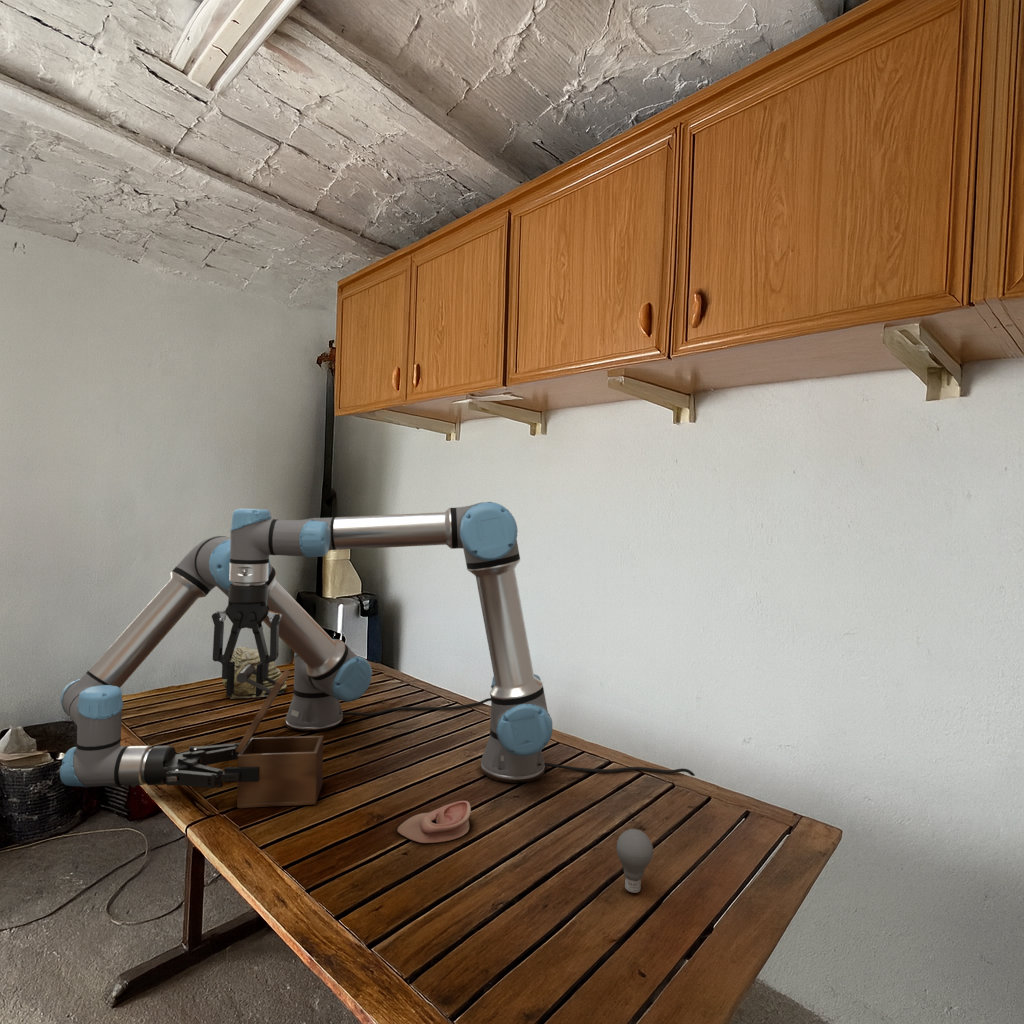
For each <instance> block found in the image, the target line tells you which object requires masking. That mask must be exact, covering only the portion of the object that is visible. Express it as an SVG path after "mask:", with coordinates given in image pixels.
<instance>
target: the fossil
mask: <svg viewBox="0 0 1024 1024" xmlns="http://www.w3.org/2000/svg"><path fill="white" fill-rule="evenodd" d="M231 659H232V660H231V661H230V662H235V674H234V693H233V694H232V695H231V696H230V697H229V698H230V699H250V698H257V697H256V687H255V686H253V685H251V684H249V683H248V682H244V683H239V682H238V681H237V679H236V677H237V675H238V674H239V673H240V672H241V671H242V670H243V669H244V668H245V667H246V666H247V665H249V664H251V665H253V666H254V667H255V670H256V671H257V665H258V663H259V662H261V661H260V657H259V653H258V649H257V648H251V647H247V646H246V647H245V646H238V647H237V648H235V649H234V652H233V655H232V658H231ZM282 674H283V672H281V669H279V668H278V667H277V665H276V663H275V661H273V662H270V663H269V670H268V677H269V678H271V679H273V680H275V681H277V680H278V679H279V678H280V676H281V675H282ZM249 678H250V679H251V680H253V681H255V682H256V675H254V674H252V675H251V676H250V677H249ZM222 685H223V687H224V688H225V690H226V689H227V679H222ZM263 686H265V687H267V688H269V689H271V690H272V688H273V687H274V685H273V684H271V683H270V682H268V681H266V680H264V679H263ZM287 687H288V686H287V680H286V681H285V682H284V684H283V686H282V687H281V689H280V691H279V693H278V694H277V695H281V694H284V693H285V691H286V689H287ZM268 695H269V693H267V692H265V691H263V693H262V694H261V695H260V696H259V697H258V698H264V697H268Z"/></svg>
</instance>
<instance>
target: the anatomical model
mask: <svg viewBox="0 0 1024 1024" xmlns="http://www.w3.org/2000/svg"><path fill="white" fill-rule="evenodd" d="M471 813H472V808H471V804H470V802H469V801H468V800H459V801H454V802H451V803H449V804H446V805H442V806H441V807H439V808H436V809H434V810H432V811H429V812H421V813H417V814H415V815H413V816H411V817H409V818H407V819H406V820H405V821H403V822H402V823H401V824H400V825H399V826H398V827H397V829H396V830H397V833H398V834H400V835H401V836H403V837H404V838H406V839H408V840H410V841H414V842H416V843H419V844H434V843H443V842H448V841H452V840H456V839H459V838H461V837H463V836H465V835H466V834H467V833H469V830H470V821H469V819H470V817H471Z"/></svg>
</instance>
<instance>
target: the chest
mask: <svg viewBox="0 0 1024 1024" xmlns="http://www.w3.org/2000/svg"><path fill="white" fill-rule="evenodd" d="M237 767H259V780H258V782H237V784H236V785H237V792H236V793H237V795H236V808H237V809H245V808H246V809H249V808H268V807H270V808H271V807H289V806H290V807H291V806H310V805H311V806H312V805H313V806H314V805H316V804H317V801H318V798H319V795H320V792H321V790H322V787H323V781H324V780H323V778H324V777H323V776H324V775H323V773H324V770H323V769H324V768H323V767H324V735H303V736H301V735H300V736H271V737H267V736H266V737H252V738H251V739H250V741H249V742H248V744H247V745H246V747H245V748H244V749H243V751H242V752H241V754H240V753H239V755H238V759H237Z"/></svg>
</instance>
